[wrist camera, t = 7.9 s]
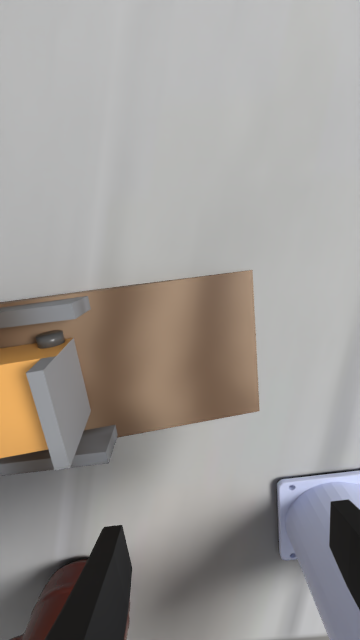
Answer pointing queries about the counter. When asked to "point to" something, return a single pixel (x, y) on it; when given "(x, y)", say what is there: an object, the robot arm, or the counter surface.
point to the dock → (147, 356)
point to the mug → (55, 601)
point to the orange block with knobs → (42, 399)
